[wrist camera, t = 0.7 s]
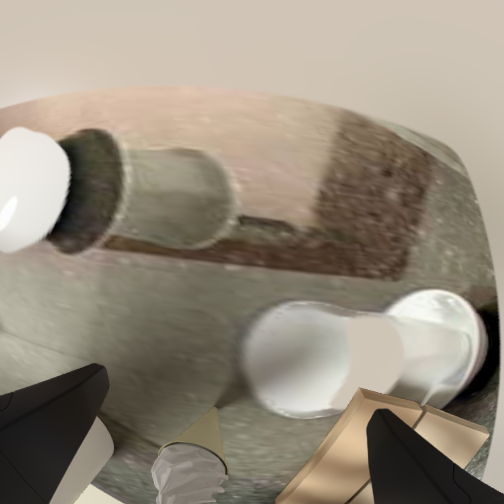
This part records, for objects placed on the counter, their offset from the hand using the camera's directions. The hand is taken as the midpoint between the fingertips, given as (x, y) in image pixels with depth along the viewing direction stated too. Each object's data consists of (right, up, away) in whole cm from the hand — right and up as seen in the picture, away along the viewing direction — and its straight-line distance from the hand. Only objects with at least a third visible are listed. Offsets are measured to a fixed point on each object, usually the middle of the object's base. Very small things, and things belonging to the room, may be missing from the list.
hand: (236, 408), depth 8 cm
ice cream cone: (-3, -9, +15) cm, 18 cm away
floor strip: (+10, -17, +14) cm, 24 cm away
